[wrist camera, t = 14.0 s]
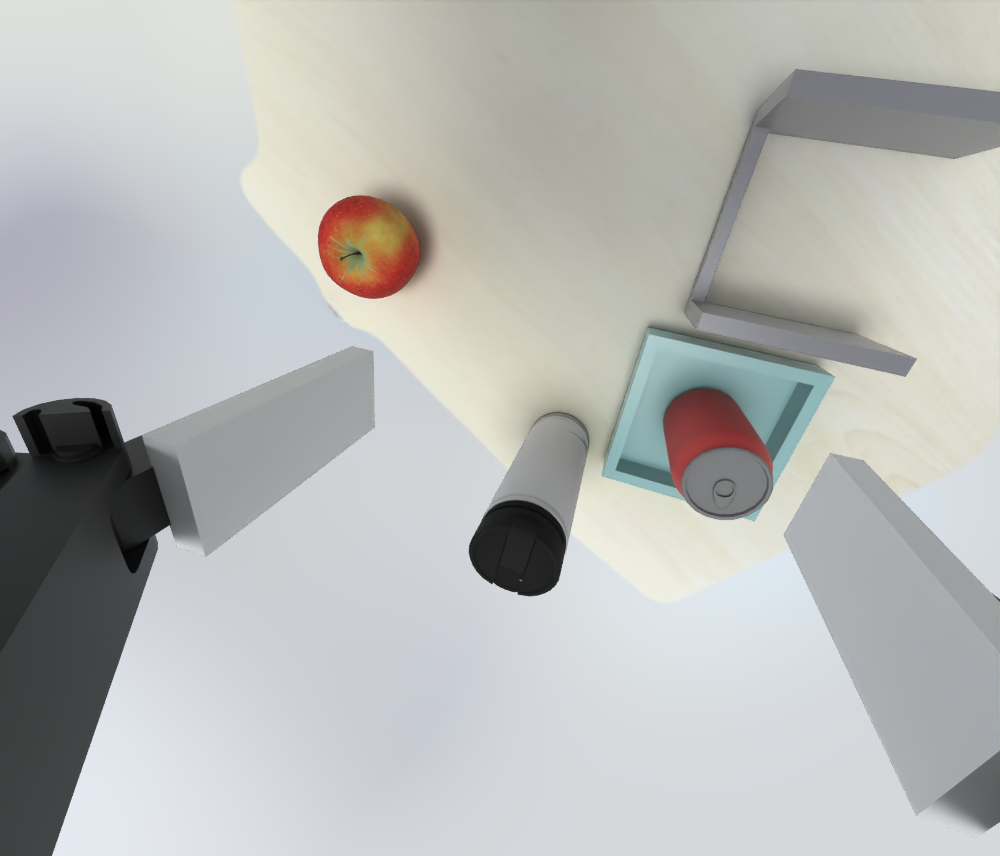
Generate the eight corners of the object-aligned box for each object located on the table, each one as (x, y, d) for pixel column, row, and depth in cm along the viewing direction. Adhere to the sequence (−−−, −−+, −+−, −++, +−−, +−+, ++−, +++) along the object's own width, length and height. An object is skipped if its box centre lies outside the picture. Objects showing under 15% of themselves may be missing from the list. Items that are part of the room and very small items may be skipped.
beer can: (658, 449, 41) (668, 520, 30) (666, 384, 38) (679, 437, 28) (734, 455, 39) (771, 532, 29) (746, 387, 37) (793, 445, 26)
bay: (757, 110, 30) (795, 69, 23) (966, 137, 28) (1080, 101, 21) (684, 313, 36) (696, 329, 29) (849, 349, 34) (905, 376, 27)
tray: (648, 327, 38) (649, 334, 35) (817, 365, 35) (834, 377, 32) (604, 460, 44) (601, 476, 41) (745, 501, 41) (754, 521, 38)
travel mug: (598, 420, 42) (574, 546, 25) (578, 474, 45) (544, 621, 28) (539, 401, 43) (475, 509, 26) (523, 455, 46) (456, 585, 29)
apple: (396, 180, 39) (327, 162, 30) (451, 255, 40) (400, 259, 31) (345, 240, 42) (270, 240, 34) (396, 307, 44) (337, 324, 35)
